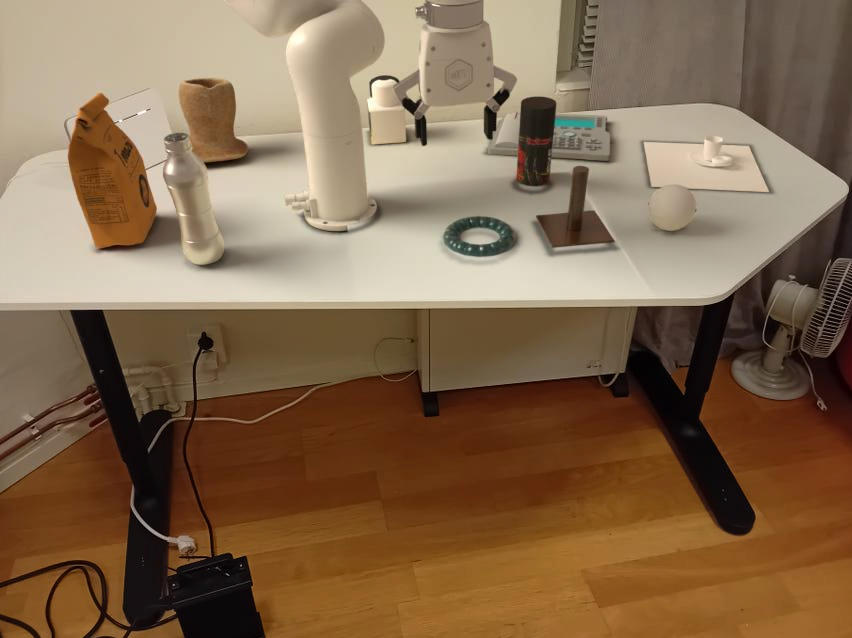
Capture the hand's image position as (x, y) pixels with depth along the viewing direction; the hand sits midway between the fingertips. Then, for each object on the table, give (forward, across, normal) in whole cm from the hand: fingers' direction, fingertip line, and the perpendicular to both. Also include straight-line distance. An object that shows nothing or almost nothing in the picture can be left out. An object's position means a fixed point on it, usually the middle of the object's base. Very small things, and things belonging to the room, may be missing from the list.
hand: (455, 139), depth 107 cm
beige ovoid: (+18, +35, 0) cm, 39 cm away
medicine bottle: (+17, -7, +45) cm, 49 cm away
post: (+18, +19, -1) cm, 26 cm away
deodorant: (+18, +17, +18) cm, 30 cm away
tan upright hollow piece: (+17, -43, +42) cm, 62 cm away
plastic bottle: (+17, -40, +2) cm, 44 cm away
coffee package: (+17, -54, +14) cm, 58 cm away
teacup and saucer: (+18, +50, +20) cm, 57 cm away
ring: (+16, +4, -1) cm, 17 cm away
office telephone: (+18, +26, +38) cm, 49 cm away
